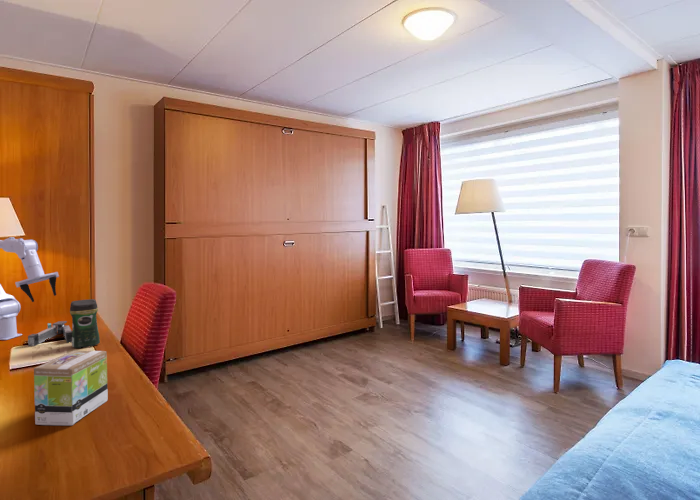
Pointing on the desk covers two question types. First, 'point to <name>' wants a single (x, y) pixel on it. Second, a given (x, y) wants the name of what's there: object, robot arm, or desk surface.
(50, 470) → the desk surface
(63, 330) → the tongs base
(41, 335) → the tong arm
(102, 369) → the tea box
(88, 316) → the coffee jar
